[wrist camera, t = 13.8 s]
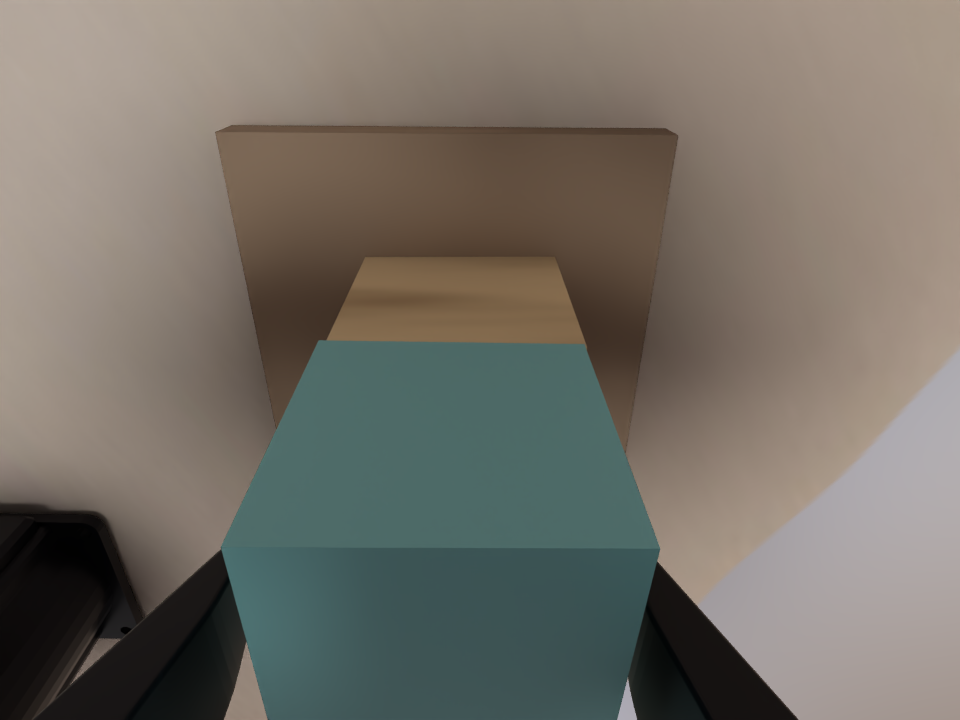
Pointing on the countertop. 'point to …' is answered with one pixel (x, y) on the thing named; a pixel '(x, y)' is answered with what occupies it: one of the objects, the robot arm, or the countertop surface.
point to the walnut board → (447, 225)
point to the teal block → (443, 539)
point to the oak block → (458, 301)
